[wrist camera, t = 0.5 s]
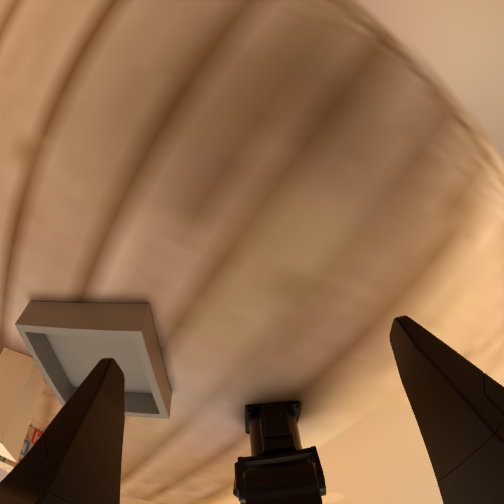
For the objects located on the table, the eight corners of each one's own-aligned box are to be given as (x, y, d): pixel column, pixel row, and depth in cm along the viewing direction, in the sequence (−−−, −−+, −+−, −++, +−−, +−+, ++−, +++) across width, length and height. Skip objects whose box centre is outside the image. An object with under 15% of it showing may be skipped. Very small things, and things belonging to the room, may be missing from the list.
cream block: (37, 359, 29) (2, 443, 19) (45, 384, 31) (17, 463, 21) (4, 347, 28) (-35, 424, 18) (13, 373, 30) (-18, 446, 20)
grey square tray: (171, 392, 32) (169, 418, 29) (71, 385, 31) (63, 407, 28) (149, 303, 26) (141, 331, 23) (30, 300, 25) (15, 324, 22)
